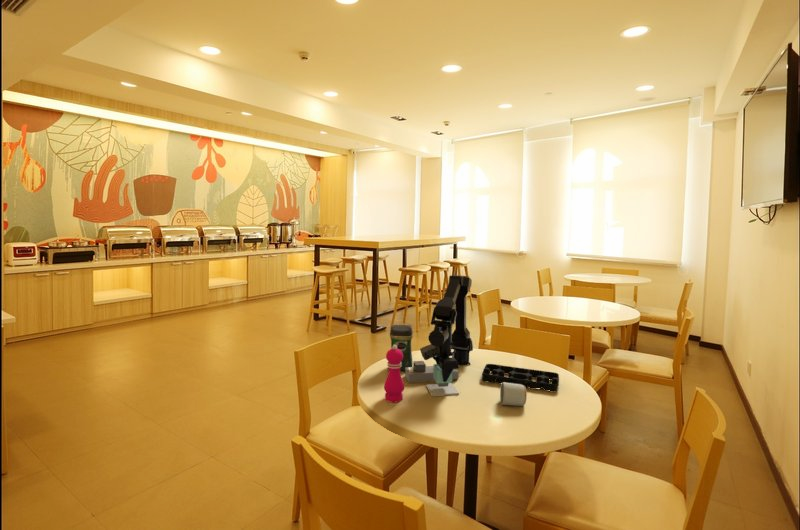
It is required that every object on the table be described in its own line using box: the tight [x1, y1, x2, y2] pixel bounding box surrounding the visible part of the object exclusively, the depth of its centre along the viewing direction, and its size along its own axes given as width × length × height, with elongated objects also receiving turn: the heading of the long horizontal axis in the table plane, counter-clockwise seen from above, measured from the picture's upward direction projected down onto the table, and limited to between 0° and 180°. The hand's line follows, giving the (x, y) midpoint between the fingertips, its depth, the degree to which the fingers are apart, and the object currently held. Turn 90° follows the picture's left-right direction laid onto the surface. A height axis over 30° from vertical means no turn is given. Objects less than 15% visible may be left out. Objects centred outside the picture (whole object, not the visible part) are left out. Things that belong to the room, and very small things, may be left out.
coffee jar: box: [389, 324, 414, 372], centre depth 191 cm, size 10×8×19 cm
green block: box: [433, 363, 453, 387], centre depth 170 cm, size 6×6×7 cm
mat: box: [425, 382, 460, 397], centre depth 171 cm, size 10×9×1 cm
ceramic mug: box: [499, 382, 527, 407], centre depth 162 cm, size 11×8×8 cm
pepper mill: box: [383, 345, 405, 403], centre depth 162 cm, size 7×7×20 cm
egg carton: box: [481, 363, 560, 392], centre depth 180 cm, size 18×30×4 cm, turn 83°
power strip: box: [404, 360, 459, 384], centre depth 182 cm, size 20×7×6 cm, turn 101°
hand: (442, 378), depth 170 cm, fingers closed on green block, 6 cm apart
